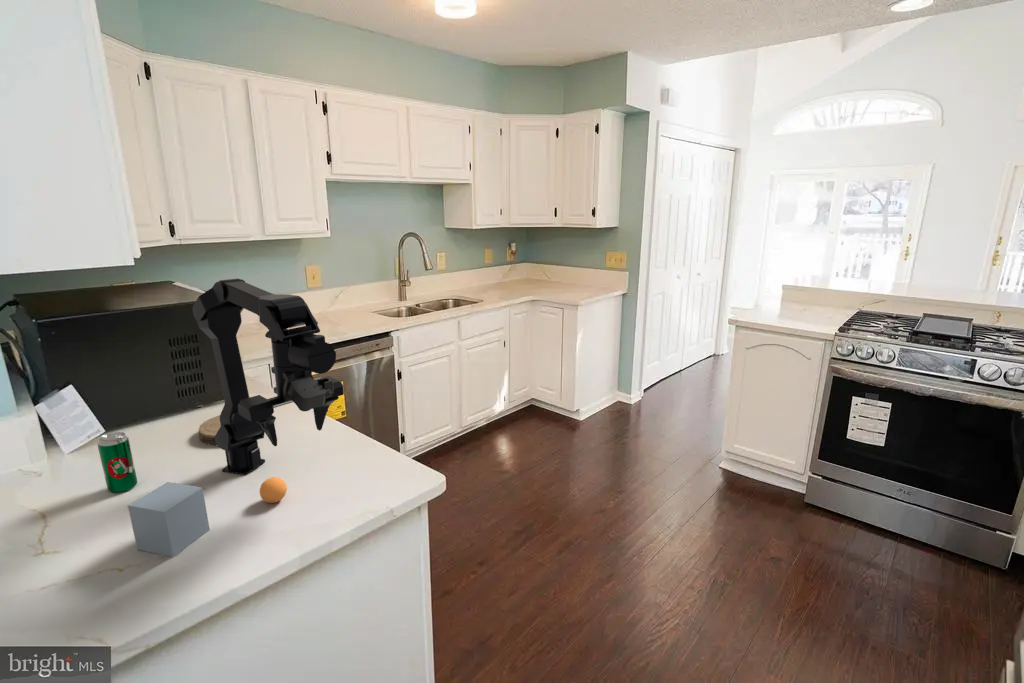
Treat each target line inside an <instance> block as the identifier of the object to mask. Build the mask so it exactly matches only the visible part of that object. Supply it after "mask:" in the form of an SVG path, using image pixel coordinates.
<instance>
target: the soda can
mask: <svg viewBox="0 0 1024 683" xmlns="http://www.w3.org/2000/svg"><path fill="white" fill-rule="evenodd" d="M130 443H131V442H130V439H129V436H127V435H126V433H125V432H123V431H115V432H110V433H106V434H103V435H102V436H100V437H99V438H98V442H97V448H98V454H99V458H100V462H101V466H102V471H103V475H104V479H105V485H106V487H107V491H108V492H110V493H112V494H121V493H125V492H129V491H131V490H132V489H134V488H135V487H136V486H137V484H138V478H137V472H136V468H135V464H134V463H135V462H134V458H133V453H132V450H131V449H132V448H131V444H130Z"/></svg>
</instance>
